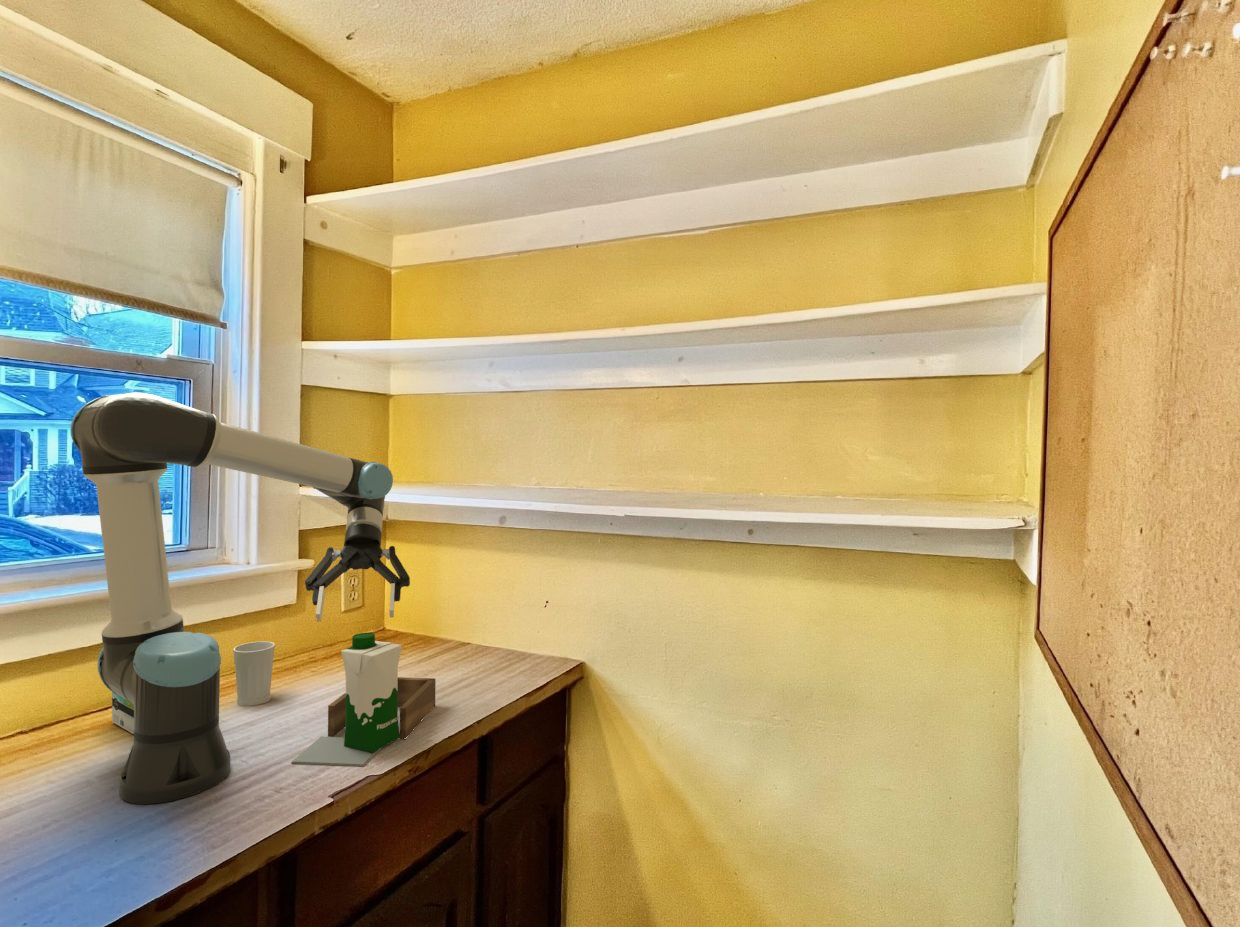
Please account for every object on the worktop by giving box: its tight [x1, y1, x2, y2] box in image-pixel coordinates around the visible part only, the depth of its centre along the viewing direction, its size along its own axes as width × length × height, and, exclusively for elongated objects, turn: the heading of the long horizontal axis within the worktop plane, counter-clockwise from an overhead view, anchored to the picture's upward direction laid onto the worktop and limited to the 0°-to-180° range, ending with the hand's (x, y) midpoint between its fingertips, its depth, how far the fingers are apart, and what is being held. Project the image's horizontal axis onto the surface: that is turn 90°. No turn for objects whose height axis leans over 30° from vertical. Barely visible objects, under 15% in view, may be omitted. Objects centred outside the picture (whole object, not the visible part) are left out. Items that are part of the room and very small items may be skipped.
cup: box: [232, 640, 276, 707], centre depth 139 cm, size 8×8×12 cm
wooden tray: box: [327, 676, 436, 740], centre depth 130 cm, size 15×17×6 cm
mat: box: [290, 736, 379, 767], centre depth 116 cm, size 13×10×1 cm
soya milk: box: [341, 632, 403, 753], centre depth 119 cm, size 9×9×20 cm
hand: (355, 616), depth 126 cm, fingers open, 13 cm apart
